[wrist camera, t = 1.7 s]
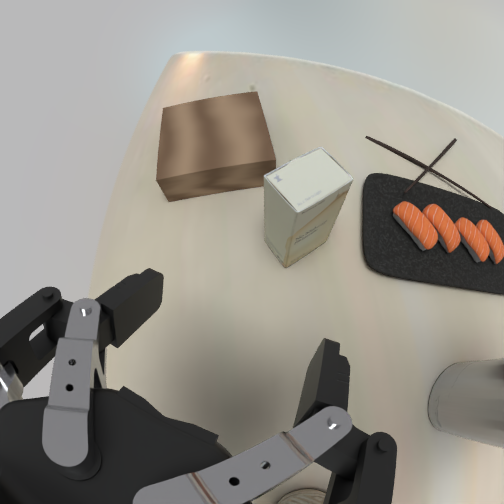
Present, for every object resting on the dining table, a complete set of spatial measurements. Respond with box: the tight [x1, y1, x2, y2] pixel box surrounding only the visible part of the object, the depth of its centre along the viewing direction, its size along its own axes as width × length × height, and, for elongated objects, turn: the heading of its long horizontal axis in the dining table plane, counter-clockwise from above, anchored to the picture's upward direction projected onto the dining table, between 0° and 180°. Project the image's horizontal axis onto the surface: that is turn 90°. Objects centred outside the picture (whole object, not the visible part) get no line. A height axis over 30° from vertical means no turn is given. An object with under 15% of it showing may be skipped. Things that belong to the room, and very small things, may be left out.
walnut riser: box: [156, 92, 276, 202], centre depth 35 cm, size 14×14×5 cm
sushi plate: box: [363, 136, 504, 294], centre depth 32 cm, size 29×30×4 cm
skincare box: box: [264, 147, 353, 268], centre depth 26 cm, size 6×4×12 cm
